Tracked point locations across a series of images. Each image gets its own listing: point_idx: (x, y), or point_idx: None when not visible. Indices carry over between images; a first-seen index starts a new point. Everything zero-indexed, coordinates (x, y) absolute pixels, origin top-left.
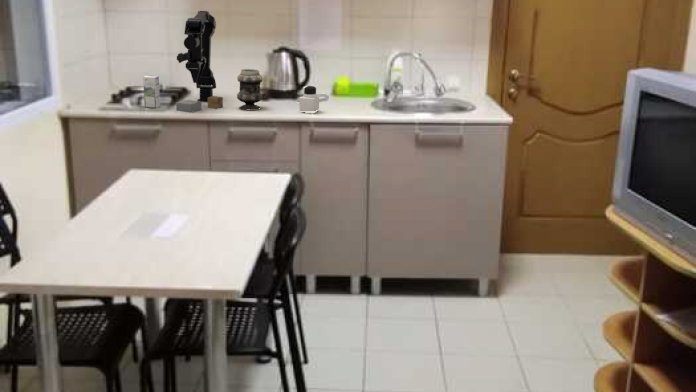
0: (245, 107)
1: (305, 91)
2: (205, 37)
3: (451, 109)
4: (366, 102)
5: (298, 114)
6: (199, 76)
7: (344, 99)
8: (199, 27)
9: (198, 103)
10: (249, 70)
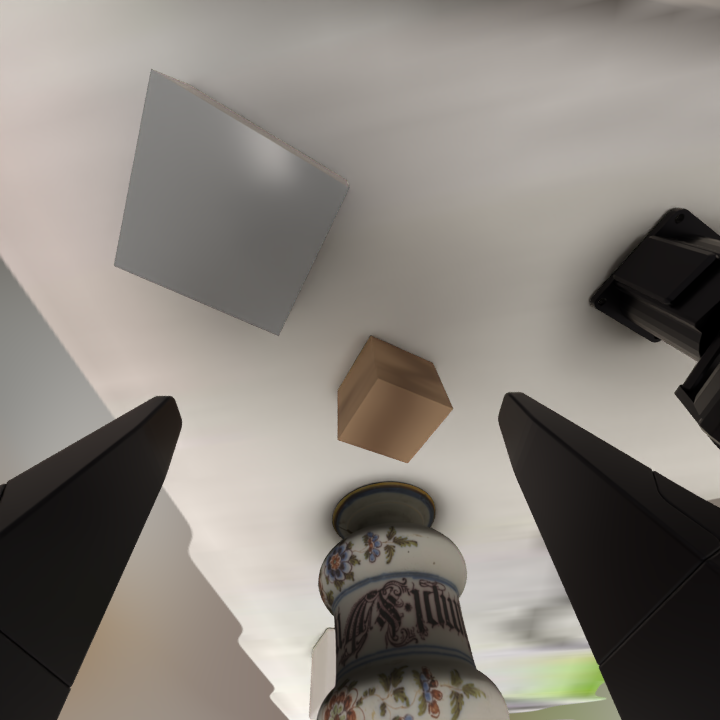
0: (348, 515)
1: None
2: None
3: None
4: (505, 693)
5: (294, 628)
6: (518, 457)
7: (557, 668)
8: None
9: (242, 315)
10: None
